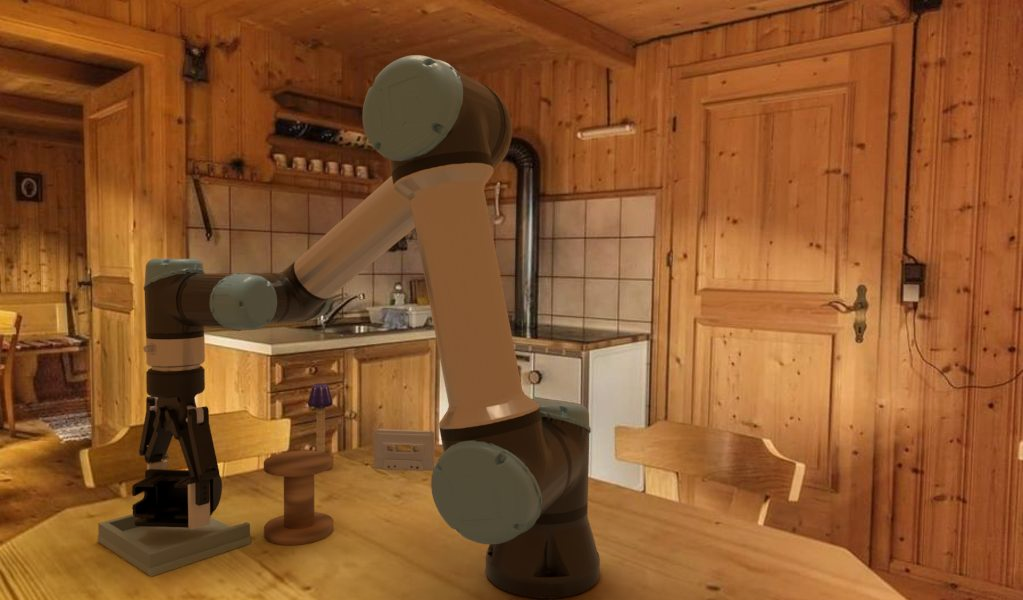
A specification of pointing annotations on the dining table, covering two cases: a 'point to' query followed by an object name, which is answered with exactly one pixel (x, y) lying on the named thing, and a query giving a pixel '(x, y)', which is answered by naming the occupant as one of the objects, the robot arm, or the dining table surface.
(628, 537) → the dining table surface
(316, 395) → the toy lamp
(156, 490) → the end cap
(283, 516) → the bobbin spool
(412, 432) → the cassette
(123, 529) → the olive grey tray
